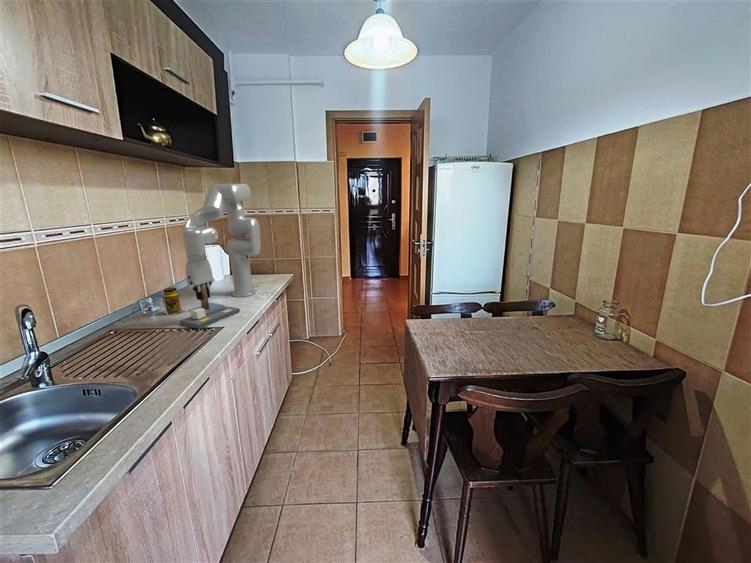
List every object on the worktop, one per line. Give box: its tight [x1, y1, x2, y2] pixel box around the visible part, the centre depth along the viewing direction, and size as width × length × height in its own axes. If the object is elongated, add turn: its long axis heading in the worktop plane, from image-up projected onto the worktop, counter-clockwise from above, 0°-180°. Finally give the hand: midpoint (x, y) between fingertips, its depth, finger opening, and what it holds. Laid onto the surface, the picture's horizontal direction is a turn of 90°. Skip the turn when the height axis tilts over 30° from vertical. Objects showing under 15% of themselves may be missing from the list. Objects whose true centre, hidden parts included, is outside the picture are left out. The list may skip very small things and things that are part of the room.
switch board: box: [179, 304, 241, 330], centre depth 153 cm, size 22×12×2 cm, turn 155°
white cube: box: [190, 307, 206, 319], centre depth 148 cm, size 4×4×4 cm
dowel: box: [200, 283, 210, 310], centre depth 150 cm, size 3×3×14 cm
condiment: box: [163, 286, 186, 315], centre depth 162 cm, size 7×8×12 cm
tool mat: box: [188, 302, 225, 312], centre depth 167 cm, size 12×10×1 cm
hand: (203, 298), depth 150 cm, fingers closed on dowel, 3 cm apart
